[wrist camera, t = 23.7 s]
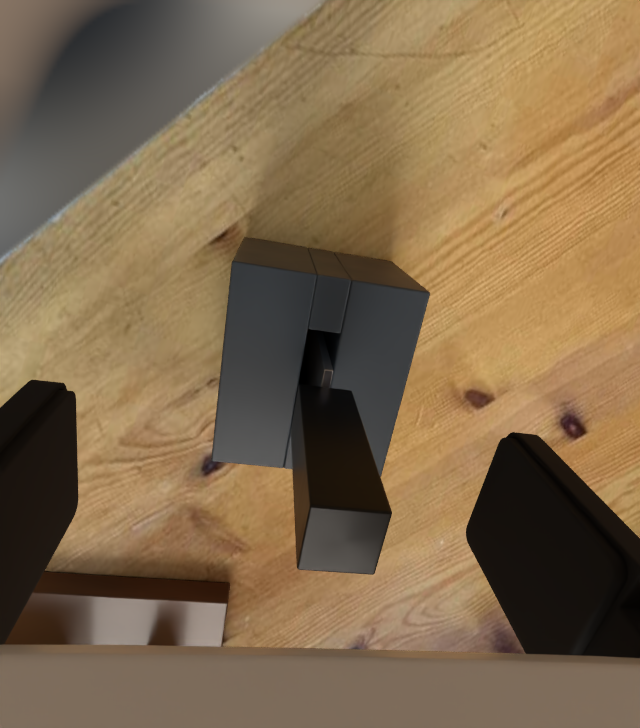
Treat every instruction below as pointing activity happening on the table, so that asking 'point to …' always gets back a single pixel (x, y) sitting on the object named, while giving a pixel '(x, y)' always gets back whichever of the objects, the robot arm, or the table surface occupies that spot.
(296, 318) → the knife block
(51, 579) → the board
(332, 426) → the knife
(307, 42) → the table surface
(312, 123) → the table surface
